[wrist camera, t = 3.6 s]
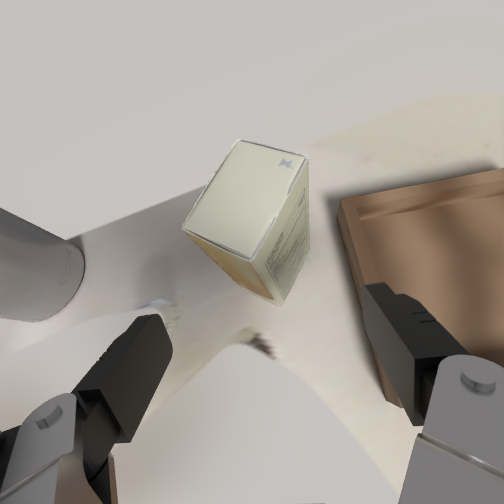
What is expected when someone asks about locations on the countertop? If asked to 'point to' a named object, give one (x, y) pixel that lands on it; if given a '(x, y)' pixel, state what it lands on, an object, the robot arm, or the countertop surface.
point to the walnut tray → (435, 255)
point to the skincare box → (255, 218)
